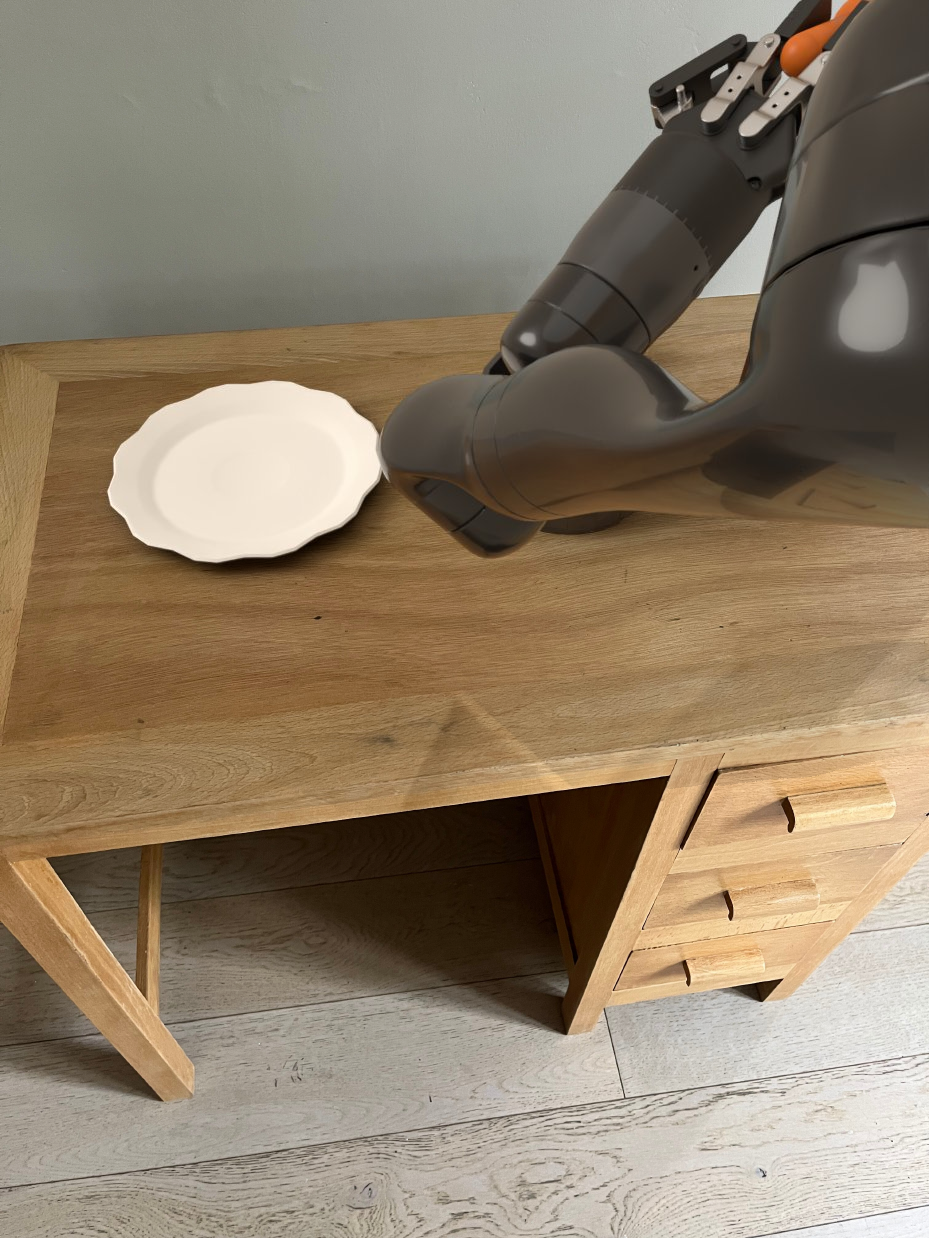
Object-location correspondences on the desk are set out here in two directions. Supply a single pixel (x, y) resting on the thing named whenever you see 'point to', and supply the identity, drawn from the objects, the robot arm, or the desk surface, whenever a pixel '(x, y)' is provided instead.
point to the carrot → (811, 42)
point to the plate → (245, 471)
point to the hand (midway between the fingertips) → (846, 9)
